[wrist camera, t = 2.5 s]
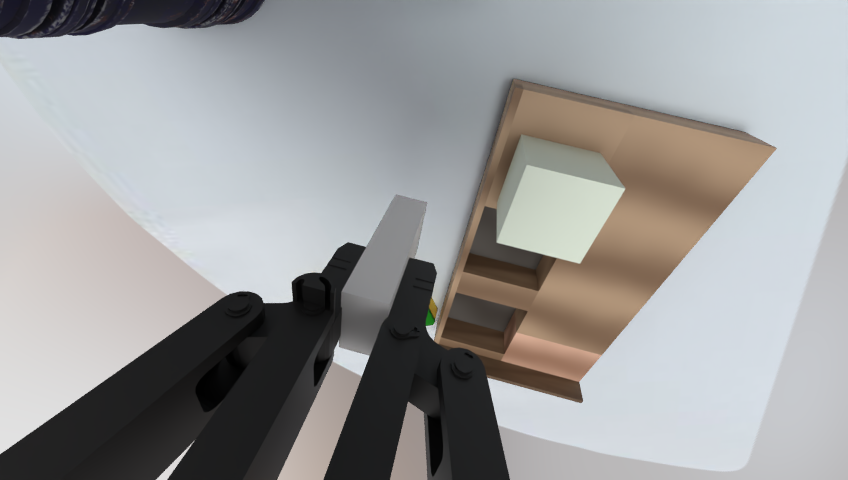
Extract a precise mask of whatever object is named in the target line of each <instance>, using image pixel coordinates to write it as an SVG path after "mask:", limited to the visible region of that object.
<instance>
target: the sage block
mask: <svg viewBox="0 0 848 480" xmlns="http://www.w3.org/2000/svg"><path fill="white" fill-rule="evenodd" d="M624 191H625V187H624V186H623V184H622V183H621V182H620V180H619V179H618V177H617V176H616V174H615V173H614V172H613V170H612V169H611V167H610V166H609V164H608V163H607V162H606V160H605V159H604V157H603V156H602V155H601V153H597V152H593V151H589V150H585V149H581V148H576V147H572V146H568V145H564V144H560V143H555V142H551V141H547V140H543V139H539V138H534V137H530V136H526V135H522V134H521V137H520V139H519V142H518V145H517V148H516V151H515V153H514V156H513V159H512V162H511V165H510V167H509V170H508V173H507V176H506V179H505V181H504V184H503V187H502V190H501V193H500V195H499V198H498V201H497V243H500V244H504V245H508V246H512V247H516V248H520V249H524V250H528V251H532V252H536V253H539V254H543V255H547V256H551V257H555V258H559V259H563V260H567V261H571V262H575V263H579V264H580V263H581V261H582V260H583V258H584V256H585V255H586V253H587V251H588V250H589V248H590V246H591V245H592V243H593V242H594V240H595V238H596V237H597V235H598V233H599V232H600V230H601V228H602V227H603V225H604V223H605V222H606V220H607V219H608V217H609V215H610V214H611V212H612V210H613V209H614V207H615V205H616V204H617V202H618V200H619V199H620V197H621V196H622V194H623V192H624Z"/></svg>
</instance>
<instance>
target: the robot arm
mask: <svg viewBox="0 0 848 480" xmlns="http://www.w3.org/2000/svg"><path fill="white" fill-rule="evenodd" d="M426 206H427V202H424V201H420V200H416V199H412V198H408V197H404V196H400V195H395V197H394V199H393V200H392V202H391V204H390V206H389V208H388V209H387V211H386V213H385V215H384V216H383V218H382V220H381V222H380V224H379V225H378V227H377V229H376V231H375V233H374V234H373V236H372V238H371V240H370V242H369V243H368V245H367V247H364V246H360V245H356V244H352V243H346V244H345V245H343V246H341V247H340V248H338V249H337V251H336V252H335V254H334V255H333V257H332V259H331V260H330V261H329V263H328V264H327V266H326V267H325V268H324V270H323V271H322V273H307V274H304V275H301V276H299V277H297V278H296V279H295V280H294V281H292V293H293V302H289V303H263V300H262V298H261V297H260V296H259V295H257V294H255V293H252V292H236V293H232V294H229V295H227V296H225V297H224V298H222V299H220V300H219V301H217V302H216V303H215V304H213V305H212V306H210V307H209V308H207V309H206V310H205V311H203V312H202V313H200V314H199V315H198V316H196V317H195V318H193V319H192V320H190V321H189V322H188V323H186V324H185V325H183V326H182V327H180V328H179V329H178V330H176V331H175V332H173V333H172V334H171V335H169V336H168V337H166V338H165V339H163V340H162V341H161V342H159V343H158V344H156V345H155V346H153V347H152V348H151V349H149V350H148V351H146V352H145V353H144V354H142V355H141V356H139V357H138V358H136V359H135V360H134V361H132V362H131V363H129V364H128V365H126V366H125V367H124V368H122V369H121V370H119V371H118V372H117V373H115V374H114V375H112V376H111V377H109V378H108V379H107V380H105V381H104V382H102V383H101V384H99V385H98V386H97V387H95V388H94V389H92V390H91V391H90V392H88V393H87V394H85V395H84V396H82V397H81V398H80V399H78V400H77V401H75V402H74V403H72V404H71V405H70V406H68V407H67V408H65V409H64V410H63V411H61V412H60V413H58V414H57V415H55V416H54V417H53V418H51V419H50V420H48V421H47V422H46V423H44V424H43V425H41V426H40V427H39V428H37V429H36V430H34V431H33V432H31V433H30V434H28V435H27V436H26V437H24V438H23V439H22V440H20V441H19V442H17V443H16V444H14V445H13V446H12V447H10V448H9V449H7V450H6V451H4V452H3V453H1V454H0V480H156V479H157V478H158V477H159V476H160V475H161V474H162V473H163V472H164V471H165V469H167V468H168V467H169V466H170V464H172V462H174V461H175V460H176V459H177V458H178V457H179V456H180V455H181V454H182V453H183V452H184V451H185V450H186V449H187V447H188V446H190V444H191V443H192V442H193V441H194V440H195V439H196V440H195V441H194V443H193V444H192V445H191V447H190V448H189V450H188V451H187V453H186V454H185V455H184V457H183V458H182V460H181V461H180V463H179V464H178V465H177V467H176V468H175V470H174V471H173V473H172V474H171V475H170V477H169V478H168V480H277V479H278V476H279V474H280V472H281V470H282V468H283V466H284V463H285V461H286V459H287V457H288V455H289V453H290V451H291V449H292V447H293V444H294V442H295V440H296V438H297V436H298V434H299V431H300V429H301V427H302V425H303V423H304V421H305V419H306V417H307V414H308V412H309V410H310V408H311V406H312V404H313V402H314V400H315V398H316V395H317V393H318V391H319V389H320V387H321V385H322V382H323V380H324V378H325V376H326V374H327V372H328V370H329V367H330V366H331V363H332V361H333V356H334V349H335V347H336V345H337V343H338V340H339V347H340V348H344V349H348V350H351V351H355V352H359V353H362V354H366V355H370V357H369V359H368V362H367V365H366V367H365V370H364V373H363V375H362V378H361V381H360V383H359V386H358V389H357V392H356V394H355V397H354V399H353V402H352V405H351V408H350V410H349V413H348V415H347V418H346V421H345V424H344V426H343V429H342V432H341V434H340V437H339V440H338V443H337V445H336V448H335V450H334V453H333V456H332V458H331V461H330V464H329V466H328V469H327V472H326V474H325V477H324V480H390V477H391V472H392V467H393V463H394V459H395V455H396V451H397V446H398V442H399V438H400V433H401V429H402V425H403V420H404V416H405V412H406V407H407V403H408V402H410V403H411V404H413V405H414V406H416V407H417V408H419V409H420V410H421V411H423V412H424V421H425V441H426V459H427V477H428V480H510V479H509V474H508V469H507V465H506V460H505V456H504V451H503V447H502V443H501V438H500V433H499V429H498V424H497V420H496V415H495V411H494V406H493V402H492V398H491V393H490V389H489V384H488V380H487V375H486V371H485V367H484V365H483V363H482V360H481V359H480V358H479V357H478V356H477V355H476V354H475V353H473V352H472V351H470V350H468V349H464V348H460V347H459V348H451V349H450V350H447V349H445V348H443V347H442V346H440V345H439V344H437V343H436V342H435V341H433V339H432V338H431V337H430V336H429V334H428V332H427V330H426V318H427V314H428V310H429V305H430V301H431V297H432V292H433V288H434V283H435V279H436V275H437V272H436V269H435V266H434V264H433V263H429V262H425V261H421V260H418V259H414V258H415V255H416V252H417V248H418V244H419V239H420V234H421V230H422V225H423V220H424V216H425V211H426Z"/></svg>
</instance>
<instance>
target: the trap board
mask: <svg viewBox="0 0 848 480" xmlns="http://www.w3.org/2000/svg"><path fill="white" fill-rule="evenodd" d="M521 134H522V135H526V136H530V137H534V138H539V139H543V140H547V141H551V142H555V143H560V144H564V145H568V146H572V147H576V148H581V149H585V150H589V151H593V152H597V153H601V155H602V156H603V157H604V159H605V160H606V162H607V163H608V164H609V166H610V167H611V169H612V170H613V172H614V173H615V174H616V176H617V177H618V179H619V180H620V182H621V183H622V184H623V186H624V187H625V191H624V192H623V194H622V196H621V197H620V199H619V200H618V202H617V204H616V205H615V207H614V209H613V210H612V212H611V214H610V215H609V217H608V219H607V220H606V222H605V223H604V225H603V227H602V228H601V230H600V232H599V233H598V235H597V237H596V238H595V240H594V242H593V243H592V245H591V246H590V248H589V250H588V251H587V253H586V255H585V256H584V258H583V260H582V261H581V263H580V264H579V263H575V262H571V261H567V260H563V259H559V258H555V257H551V256H547V255H543V254H539V253H536V252H532V251H528V250H524V249H520V248H516V247H512V246H508V245H504V244H500V243H497V201H498V198H499V195H500V193H501V190H502V187H503V184H504V181H505V179H506V176H507V173H508V170H509V167H510V165H511V162H512V159H513V156H514V153H515V151H516V148H517V145H518V142H519V139H520V137H521ZM776 149H777V148H775V147H773V146H771V145H769V144H767V143H765V142H763V141H762V140H760V139H758V138H756V137H754V136H752V135H750V134H748V133H746V132H742V131H738V130H733V129H729V128H725V127H721V126H716V125H712V124H708V123H703V122H699V121H695V120H690V119H686V118H682V117H677V116H673V115H669V114H664V113H660V112H656V111H651V110H647V109H643V108H638V107H634V106H630V105H625V104H621V103H617V102H612V101H608V100H604V99H599V98H595V97H591V96H586V95H582V94H578V93H573V92H569V91H565V90H560V89H556V88H552V87H548V86H543V85H539V84H535V83H530V82H526V81H522V80H517V79H513V82H512V85H511V88H510V91H509V94H508V98H507V101H506V104H505V107H504V110H503V114H502V117H501V120H500V123H499V127H498V130H497V133H496V136H495V139H494V143H493V146H492V149H491V152H490V155H489V159H488V162H487V165H486V168H485V172H484V175H483V178H482V181H481V184H480V188H479V191H478V194H477V197H476V200H475V204H474V207H473V210H472V213H471V217H470V220H469V223H468V226H467V229H466V233H465V236H464V239H463V242H462V246H461V249H460V252H459V255H458V258H457V262H456V265H455V268H454V271H453V274H452V278H451V281H450V284H449V287H448V291H447V294H446V297H445V300H444V303H443V307H442V310H441V313H440V316H439V319H438V323H437V328H436V333H435V338H434V341H435V342H436V343H437V344H439V345H440V346H442V347H443V348H445V349H447V350H450V349H451V348H459V347H460V348H464V349H468V350H470V351H472V352H473V353H475V354H476V355H477V356H478V357H479V358H480V359H481V360H482V363H483V365H484V367H485V371H486V375H487V377H488V378H491V379H495V380H499V381H502V382H506V383H510V384H513V385H517V386H521V387H524V388H528V389H532V390H535V391H539V392H543V393H546V394H550V395H553V396H557V397H561V398H564V399H568V400H572V401H575V402H579V403H582V402H583V398H582V394H581V389H580V384H579V381H580V380H581V379H582V378H583V377H584V375H585V374H586V373H587V372H588V371H589V370H590V368H591V367H592V366H593V365H594V364H595V362H596V361H597V360H598V359H599V358H600V357H601V355H602V354H603V353H604V352H605V351H606V349H607V348H608V347H609V346H610V345H611V344H612V342H613V341H614V340H615V339H616V338H617V336H618V335H619V334H620V333H621V332H622V331H623V329H624V328H625V327H626V326H627V325H628V323H629V322H630V321H631V320H632V319H633V318H634V316H635V315H636V314H637V313H638V312H639V310H640V309H641V308H642V307H643V306H644V305H645V303H646V302H647V301H648V300H649V299H650V297H651V296H652V295H653V294H654V293H655V292H656V290H657V289H658V288H659V287H660V286H661V284H662V283H663V282H664V281H665V280H666V279H667V277H668V276H669V275H670V274H671V273H672V271H673V270H674V269H675V268H676V267H677V266H678V264H679V263H680V262H681V261H682V260H683V258H684V257H685V256H686V255H687V254H688V253H689V251H690V250H691V249H692V248H693V247H694V245H695V244H696V243H697V242H698V241H699V240H700V238H701V237H702V236H703V235H704V234H705V232H706V231H707V230H708V229H709V228H710V227H711V225H712V224H713V223H714V222H715V221H716V219H717V218H718V217H719V216H720V215H721V214H722V212H723V211H724V210H725V209H726V208H727V206H728V205H729V204H730V203H731V202H732V201H733V199H734V198H735V197H736V196H737V195H738V193H739V192H740V191H741V190H742V189H743V188H744V186H745V185H746V184H747V183H748V182H749V180H750V179H751V178H752V177H753V176H754V175H755V173H756V172H757V171H758V170H759V169H760V167H761V166H762V165H763V164H764V163H765V162H766V160H767V159H768V158H769V157H770V156H771V155H772V153H773V152H774V151H775V150H776Z"/></svg>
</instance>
